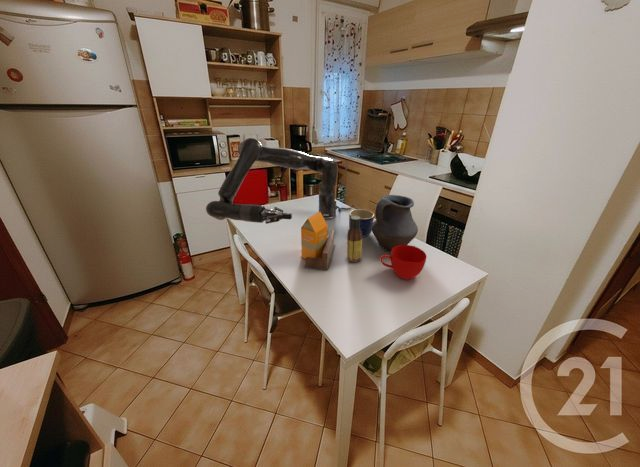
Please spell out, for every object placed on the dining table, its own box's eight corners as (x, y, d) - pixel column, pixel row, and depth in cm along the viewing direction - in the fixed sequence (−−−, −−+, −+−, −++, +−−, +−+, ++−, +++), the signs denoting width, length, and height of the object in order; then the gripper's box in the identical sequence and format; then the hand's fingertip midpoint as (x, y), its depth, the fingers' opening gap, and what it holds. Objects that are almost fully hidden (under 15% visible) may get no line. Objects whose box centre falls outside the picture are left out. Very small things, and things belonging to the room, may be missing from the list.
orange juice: (327, 254, 118) (328, 213, 108) (315, 263, 111) (315, 220, 102) (313, 248, 122) (313, 209, 112) (301, 257, 115) (300, 215, 106)
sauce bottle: (362, 256, 116) (366, 215, 107) (359, 264, 111) (363, 221, 101) (347, 253, 118) (350, 213, 108) (344, 261, 112) (347, 219, 103)
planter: (363, 226, 143) (365, 207, 138) (377, 236, 133) (379, 216, 128) (343, 230, 138) (344, 211, 133) (356, 241, 129) (358, 220, 123)
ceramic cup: (375, 264, 111) (378, 244, 106) (416, 265, 110) (420, 245, 106) (381, 284, 99) (384, 262, 95) (426, 285, 99) (431, 263, 94)
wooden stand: (305, 267, 109) (305, 251, 105) (315, 243, 126) (315, 229, 122) (327, 270, 107) (327, 253, 103) (334, 245, 124) (334, 230, 121)
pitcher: (423, 250, 121) (434, 199, 110) (389, 264, 111) (397, 209, 99) (391, 232, 137) (398, 186, 125) (358, 243, 127) (362, 194, 115)
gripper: (244, 211, 106) (286, 214, 103) (257, 199, 117) (295, 202, 114) (247, 227, 109) (287, 231, 106) (259, 215, 121) (295, 218, 118)
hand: (291, 216), depth 110 cm, fingers closed
